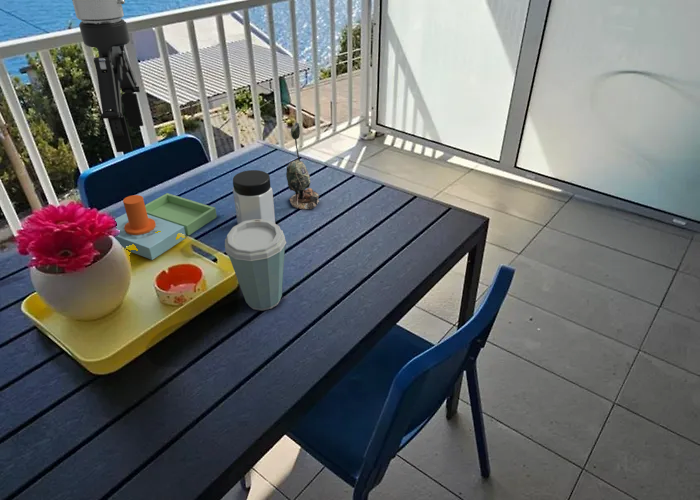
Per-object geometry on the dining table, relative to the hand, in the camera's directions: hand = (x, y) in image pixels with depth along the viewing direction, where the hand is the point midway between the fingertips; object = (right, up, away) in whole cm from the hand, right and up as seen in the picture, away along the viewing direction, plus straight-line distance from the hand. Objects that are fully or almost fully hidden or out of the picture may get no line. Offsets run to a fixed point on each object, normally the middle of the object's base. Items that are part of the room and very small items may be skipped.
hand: (130, 137), depth 98 cm
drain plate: (-3, -20, +14) cm, 24 cm away
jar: (+21, -16, +19) cm, 33 cm away
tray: (+2, -14, +21) cm, 26 cm away
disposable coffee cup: (+26, -32, -4) cm, 41 cm away
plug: (-3, -20, +14) cm, 24 cm away
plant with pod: (+31, -10, +28) cm, 43 cm away
